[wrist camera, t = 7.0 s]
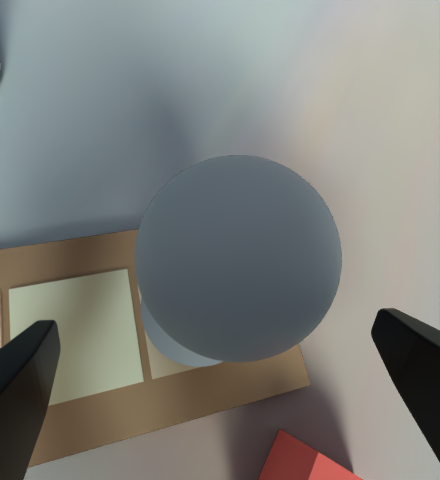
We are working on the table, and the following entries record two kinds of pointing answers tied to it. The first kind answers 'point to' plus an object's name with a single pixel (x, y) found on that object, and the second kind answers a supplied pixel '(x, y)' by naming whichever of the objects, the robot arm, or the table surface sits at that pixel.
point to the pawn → (235, 262)
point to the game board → (116, 349)
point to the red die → (300, 462)
